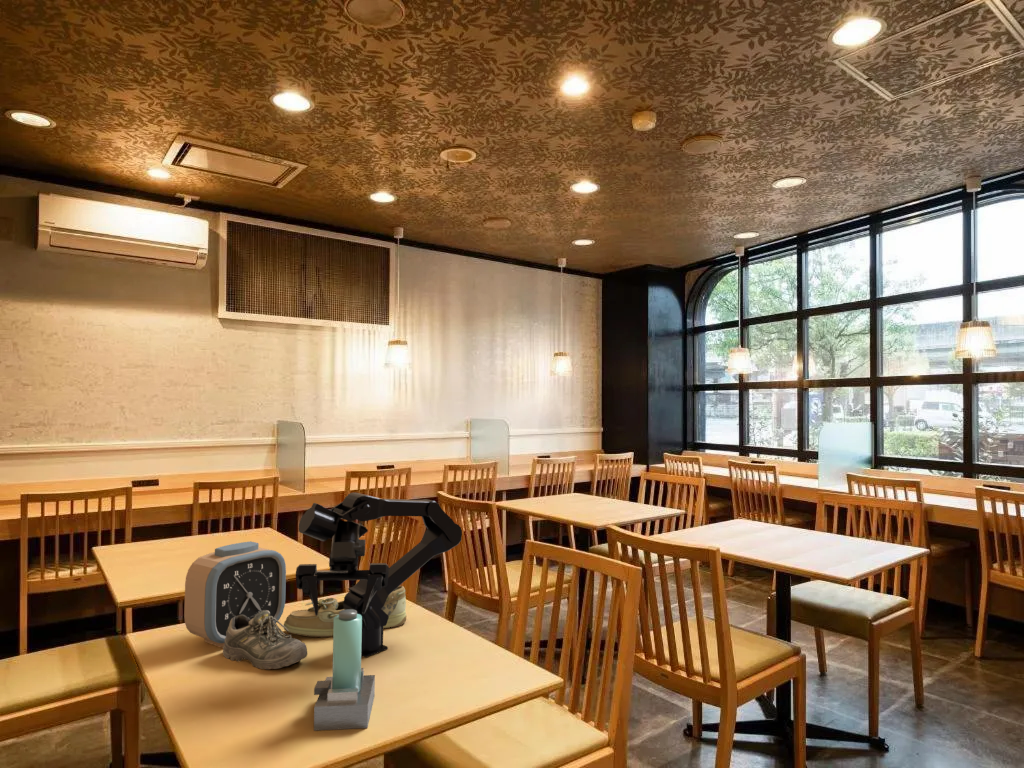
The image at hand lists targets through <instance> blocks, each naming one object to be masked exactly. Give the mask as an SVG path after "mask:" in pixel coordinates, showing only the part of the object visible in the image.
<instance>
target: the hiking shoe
mask: <svg viewBox="0 0 1024 768" xmlns="http://www.w3.org/2000/svg"><path fill="white" fill-rule="evenodd" d="M273 620H275V621H276V622H277V623H275V622H274V621H273ZM278 624H279V625H280V626H281V627H282V628H283V629H286V630H287V631H289V630H288V629H287V628H286V627H285V626H284V624H282V623H281V622H280V620H278V621H277V620H276V619H275V618H273V616H270V612H269V611H268V610H262V611H261V612H259V613H257V614H256V615H254V618H252V619H249V618H248V617H247V616H245V615H238V616H234V617H233V618H232V619H231V621H230V623H229V627H228V629H227V631H226V638H225V642H224V647H223V648H222V654H223V657H224V658H226V659H227V660H230V661H235V662H242V661H243V660H247V661H249V662H250V663H251V665H252V667H253V668H256V669H259V670H260V669H262V670H271V669H272V670H273V669H274V670H277V669H283V668H284V667H289V666H291V665H293V664H296V663H298V662H300V661H301V660H303V659H306V658H307V657H308V646H307V645H306V643H305V642H302V641H301V640H299V639H297V638H293V637H292V634H286V633H284V632H283V630H282V629H281V628H280V627H279V626H278ZM286 630H285V631H286ZM287 631H286V632H287Z"/></svg>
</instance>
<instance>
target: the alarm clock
mask: <svg viewBox="0 0 1024 768" xmlns="http://www.w3.org/2000/svg"><path fill="white" fill-rule="evenodd" d="M286 578H287V566H286V561H285V558H284V556H283V555H282V554H281V553H280V552H278V551H276V550H273V549H269V548H263V547H259V543H258V542H254V541H243V542H238V543H231V544H227V545H223V546H218V547H217V548H214V552H209V553H206V554H204V555H202V556H199V557H198V558H196V559H195V560H194V561H193V562H192V563H191V565H190V566H189V568H188V569H187V572H186V576H185V580H184V581H185V583H184V609H183V610H184V614H183V616H184V623H185V624H184V625H185V628H186V630H187V631H188V632H189V634H193V635H196V636H197V637H200V638H203V639H204V642H205V643H208V644H210V645H213V646H216V647H219V648H222V649H223V647H224V642H225V638H226V631H227V629H228V627H229V623H230V621H231V619H232V618H233V617H234V616H238V615H245V616H247V617H248V618H249V619H252V618H254V615H256V614H257V613H259V612H261V611H262V610H268V611H269V612H270V616H273V618H275V619H276V620H277V621H280V620H281V617H282V615H283V613H284V609H285V606H286V583H287V579H286ZM273 621H274V622H275V623H276V624H278V623H277V622H276V621H275V620H273Z"/></svg>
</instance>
